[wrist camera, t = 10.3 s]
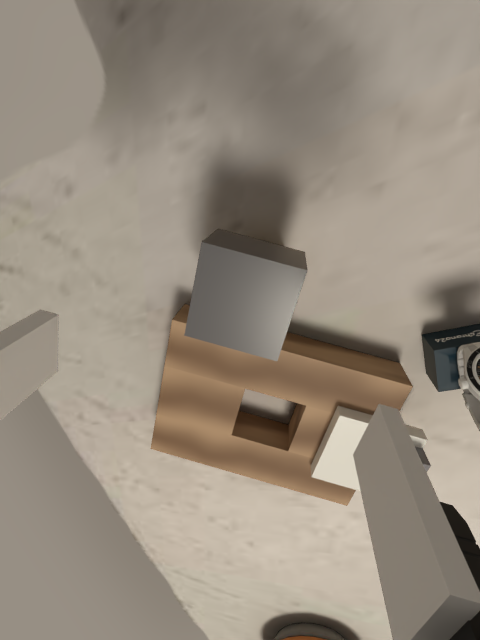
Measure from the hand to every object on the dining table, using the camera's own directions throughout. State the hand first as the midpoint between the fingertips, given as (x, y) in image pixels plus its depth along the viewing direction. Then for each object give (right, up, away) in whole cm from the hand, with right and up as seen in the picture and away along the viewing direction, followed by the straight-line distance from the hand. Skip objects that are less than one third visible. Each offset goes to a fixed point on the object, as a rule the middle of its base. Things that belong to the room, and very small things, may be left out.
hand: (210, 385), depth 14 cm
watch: (+21, 0, +19) cm, 28 cm away
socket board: (+4, -6, +24) cm, 25 cm away
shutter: (+13, -10, +20) cm, 26 cm away
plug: (+3, +8, +18) cm, 20 cm away
